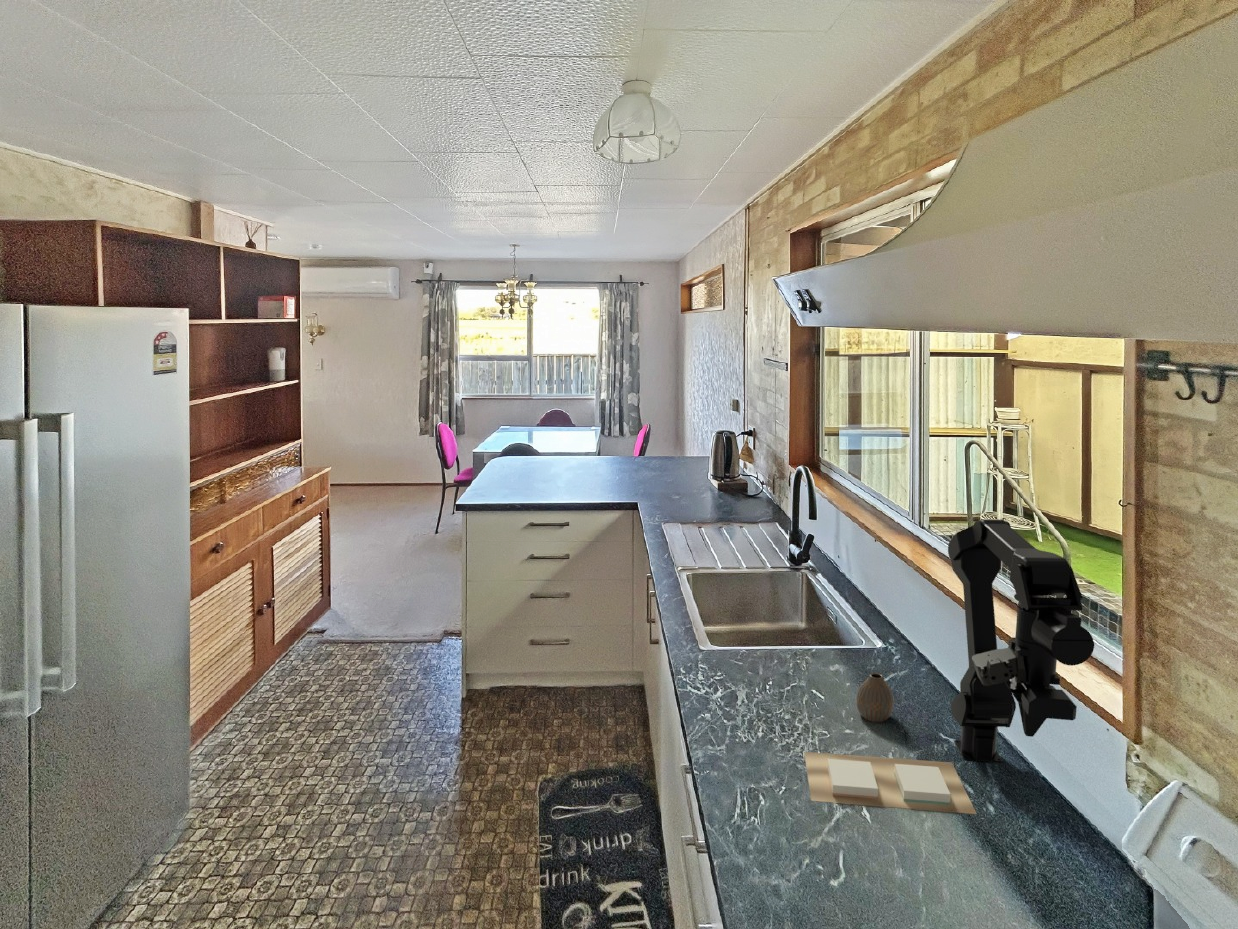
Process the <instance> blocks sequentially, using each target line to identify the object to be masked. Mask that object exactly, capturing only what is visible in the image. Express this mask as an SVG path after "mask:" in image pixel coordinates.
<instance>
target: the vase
mask: <svg viewBox="0 0 1238 929" xmlns="http://www.w3.org/2000/svg"><path fill="white" fill-rule="evenodd" d="M894 699H895V698H894V694H893V690H892V689H891V687H890V686H889V684H887V682H886V681H885V678H884V676H883V675H882V674H881V673H876V672H874V673H870V674H869V675H868V678H867V679H866V680H865V681H863V683H861V685H860V686H859V688H858V690H857V693H856V700H855V701H856V707H857V709H858V710H857V711H858V712H859V715H861V717H862V718H863V719H865V720H866V721H869V722H873V723H882V722H885V721H887V720H888V719H889V718H890V717H891V715H892V714H893V710H894V706H895V705H894V704H895V700H894Z"/></svg>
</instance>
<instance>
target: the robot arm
mask: <svg viewBox="0 0 1238 929" xmlns="http://www.w3.org/2000/svg"><path fill="white" fill-rule="evenodd" d="M1011 526H1012V525H1011V523H1010V522H1009V521H1007V520H1004V519H994V518H993V519H988V518H987V519H986V518H985V519H979V520H976V521H975V522H974V523H973V525H971V526H969V527H966V528H964V529H962V530H959V531H957V532H956V533H955V534H954V535H953V537H952V538H951V539H950V540H949V542H948V546H947V553H948V557H949V559H950V562H951V567H952V570H953V572H954V574H955V575H956V577H957V578H958V580H960V582H961V584H962V587H963V600H964V602H963V603H964V614H965V629H966V641H967V642H966V644H967V656H968V668H967V670H966V671H965V673H964V674H963V677H962V679H961V680H960V685H959V687H960V688H959V689H960V691H959V693H958V694H957V695H956V696H955V698H954V699H953V700H952V701H951V702H950V712H951V716H952V717H953V718H954V720H955V721H956V722H957V723H958V725H959V727H961V734H960V739H955V740H954V742H953V743H954V745H955V746H956V748H957V750H958V752H959V754H960V756H961V758H962V759H963V761H964V760H965V761H973V762H986V763H997V764H999V763H1000V764H1001V763H1002V762H1003V759H1002V757H1001V756H1000V754H999V752H998V751H997V742H998V741H997V738H998V731H999V730H998V729H999V727H1000V728H1004V727H1005V728H1010V727H1011V725H1012V722H1013V719H1014V715H1015V712H1016V709H1017V704H1018V708H1019V714H1020V718H1021V723H1022V729H1023V734H1024V735H1025V737H1031V738H1032V737H1035V735H1036V734H1037V732H1038V731H1039V729H1040V728H1041V726H1042V725H1043V724H1044V722H1045V721H1047V719H1050V720H1052V719H1053V720H1064V721H1074V720H1076V718H1077V717H1076V716H1077V704H1075V703H1074V701H1073V700H1072V699H1071V698H1070V696H1069V695H1068V694H1066V692H1065V691H1064V690H1063V689H1057V688H1056V687H1055V686H1054V685H1056V686H1057V685H1058V686H1060V685H1061V684H1060V681H1061V678H1060V677H1059V675H1058V674H1057V673H1056V671H1057V664H1058V663H1057V662H1059V663H1061V664H1063V665H1065V666H1078V665H1080V664H1083V663H1084V662H1086V661H1088V659H1089V658H1090V657H1091V656H1092V654H1093V653H1094V649H1095V641H1094V638H1093V636H1092V634H1091V633H1090V632H1089V630H1087V629H1086V628H1085V627H1084V626H1082V617H1080V616H1079V615H1077V614H1074V613H1072V612H1075V611H1076V612H1082V611H1083V605H1082V600H1083V598H1084V597H1083V595H1082V592H1081V589H1080V587H1079V584H1078V582H1077V579H1076V576H1075V572H1074V569H1073V568H1072V566H1071V564H1070V563H1069V562H1068V560H1067V559H1066V558H1065V557H1064V556H1061V555H1058V554H1057V553H1054V552H1050V551H1045V550H1041V549H1038V548H1036V547H1035V546H1034V545H1033V544H1031V543H1030V542H1028V540H1027V539H1025V538H1024V537H1023V536H1022V535H1021V534H1019V532H1017V531H1016V530H1014V529H1013V528H1012V527H1011ZM1002 562H1003V564H1004V565H1005V566H1006V567H1007V568H1008V569H1009V570H1010V573H1009V581H1010V583H1011V584H1012V587H1013V589H1014V591H1015V594H1014V595H1013V597H1014V600H1016V601H1017V602H1018V603H1017V611H1016V612H1017V614H1016V626H1015V636H1013V637H1012V636H1011V638H1010V639H1009V640H1008V647H1005V648H999V649H998V641H997V631H996V630H997V629H996V615H995V604H994V602H995V601H994V592H993V583H994V581H995V579H996V578H997V576H998V575H999V573H1000V571H1001V568H1002ZM1045 596H1053V597H1045ZM1054 596H1055V597H1054ZM1057 596H1058V597H1057ZM1059 596H1060V597H1059ZM1064 596H1066V597H1064Z"/></svg>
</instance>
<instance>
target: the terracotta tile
mask: <svg viewBox="0 0 1238 929" xmlns="http://www.w3.org/2000/svg"><path fill="white" fill-rule="evenodd" d="M827 770H828V775H829V780H830V785H831V790H832V795H835V796H847V797H860V798H872V799H878V787H877V783H876V780H875V777H874V773H873V770H872V766H871V763H870V762H864V761H850V760H837V759H828V763H827Z"/></svg>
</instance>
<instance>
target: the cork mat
mask: <svg viewBox="0 0 1238 929" xmlns="http://www.w3.org/2000/svg"><path fill="white" fill-rule="evenodd" d="M803 753H804V754H803V755H804V760H805V766H806V767H805V768H806V775H807V781H808V788H809V794H810V801H811V802H820V803H822V802H823V803H832V804H833V803H834V804H835V803H836V804H844V805H845V804H846V805H856V806H857V805H859V806H869V807H883V808H892V809H903V810H904V809H908V810H915V811H917V810H918V811H930V812H942V813H955V814H965V815H966V814H967V815H977V812H976V810H975V807H974V805H973V803H972V801H971V799H970V797H969V795H968V794H967V791H966V789H965V787H964V785H963V783H962V781H961V778H960V776H959V775H958V772H957V770H956V768H955V766H954V764H953V763H952V762H950V761H949V762H948V761H935V760H934V761H933V760H924V759H923V760H921V759H919V760H918V759H911V758H909V759H908V758H907V759H906V758H892V757H880V756H867V755H866V756H865V755H864V756H863V755H852V754H837V753H826V752H824V753H823V752H811V751H810V752H809V751H804V752H803ZM828 759H837V760H850V761H864V762H870V763H871V766H872V770H873V773H874V777H875V780H876V783H877V787H878V799H872V798H860V797H847V796H835V795H832V790H831V785H830V780H829V775H828V770H827V763H828ZM895 764H904V765H918V766H932V767H938V768H939V770H940V772H941V774H942V776H943V779H944V781H945V783H946V785H947V788H948V790H949V792H950V794H951V795H950V805H947V804H934V803H922V802H909V801H903V798H902V795H901V792H900V789H899V786H898V783H897V780H896V777H895V775H894V768H895Z"/></svg>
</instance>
